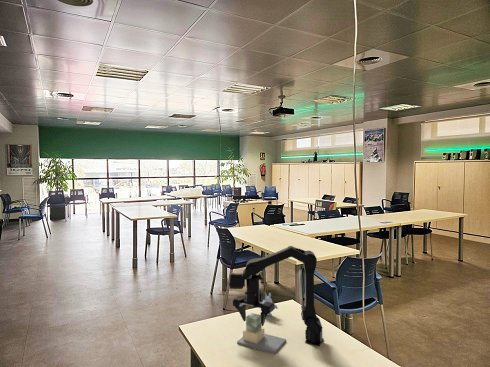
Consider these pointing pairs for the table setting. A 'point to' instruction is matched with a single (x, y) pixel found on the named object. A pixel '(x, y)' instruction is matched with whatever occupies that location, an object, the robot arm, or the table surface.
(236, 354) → the table surface
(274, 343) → the build plate
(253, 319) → the sage block
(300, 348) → the table surface
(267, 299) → the toy figure
